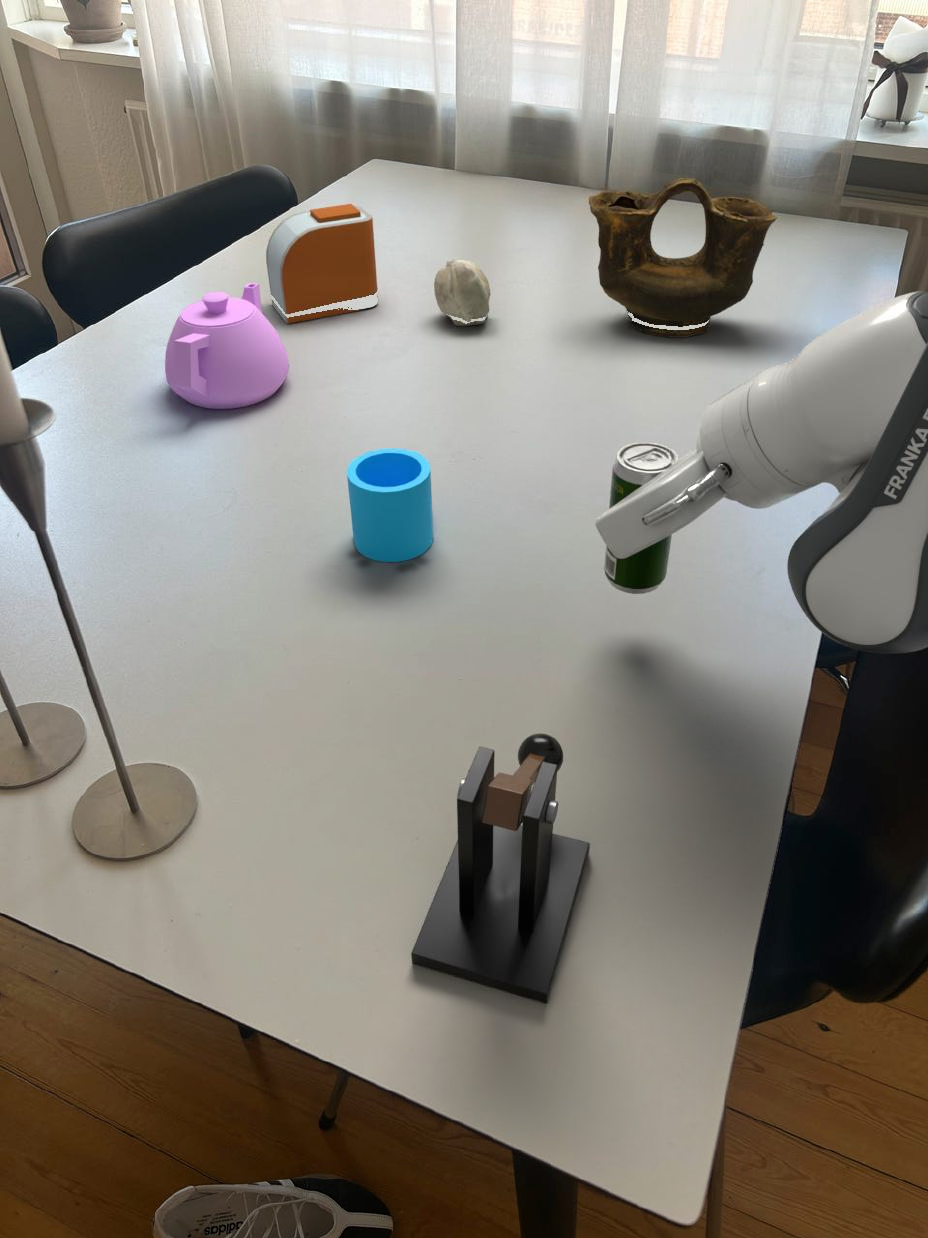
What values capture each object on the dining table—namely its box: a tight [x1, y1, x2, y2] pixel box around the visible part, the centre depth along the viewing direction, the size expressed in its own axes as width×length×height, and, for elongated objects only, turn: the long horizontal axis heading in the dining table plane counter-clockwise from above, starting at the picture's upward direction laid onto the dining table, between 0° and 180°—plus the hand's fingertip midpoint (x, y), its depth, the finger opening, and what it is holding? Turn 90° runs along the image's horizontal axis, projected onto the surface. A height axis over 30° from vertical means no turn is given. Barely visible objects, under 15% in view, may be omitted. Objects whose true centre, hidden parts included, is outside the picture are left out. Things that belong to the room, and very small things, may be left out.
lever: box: [482, 732, 564, 831], centre depth 63 cm, size 13×3×3 cm
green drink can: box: [603, 441, 680, 595], centre depth 81 cm, size 5×5×12 cm
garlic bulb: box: [433, 258, 491, 327], centre depth 138 cm, size 9×8×10 cm
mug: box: [346, 447, 434, 563], centre depth 98 cm, size 12×8×8 cm
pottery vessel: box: [588, 177, 778, 338], centre depth 133 cm, size 25×11×20 cm, turn 80°
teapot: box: [164, 282, 290, 410], centre depth 122 cm, size 22×16×12 cm
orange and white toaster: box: [265, 203, 378, 325], centre depth 142 cm, size 15×8×14 cm, turn 115°
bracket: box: [410, 746, 591, 1005], centre depth 61 cm, size 12×9×13 cm
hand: (635, 510), depth 81 cm, fingers closed on green drink can, 5 cm apart
